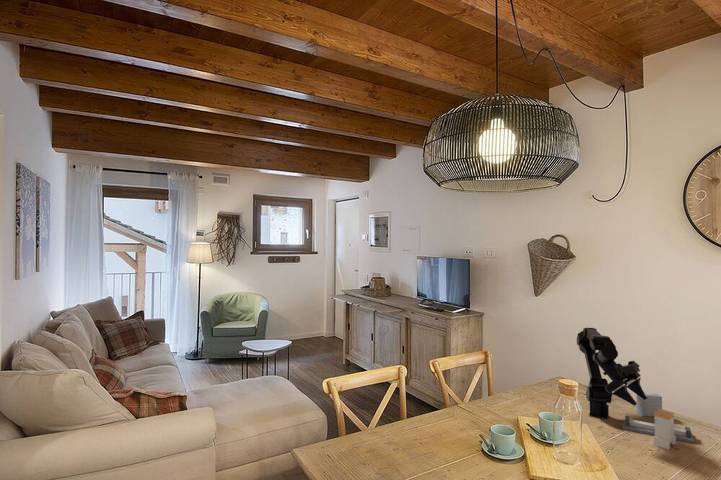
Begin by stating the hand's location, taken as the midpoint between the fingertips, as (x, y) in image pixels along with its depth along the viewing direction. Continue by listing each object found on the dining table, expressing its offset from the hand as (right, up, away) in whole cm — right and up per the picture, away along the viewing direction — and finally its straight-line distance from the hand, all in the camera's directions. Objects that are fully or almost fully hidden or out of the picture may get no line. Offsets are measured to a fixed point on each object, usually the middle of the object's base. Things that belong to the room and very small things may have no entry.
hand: (640, 402), depth 156 cm
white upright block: (+5, -13, -6) cm, 15 cm away
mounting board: (+9, -13, +3) cm, 16 cm away
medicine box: (+17, -13, +19) cm, 29 cm away
